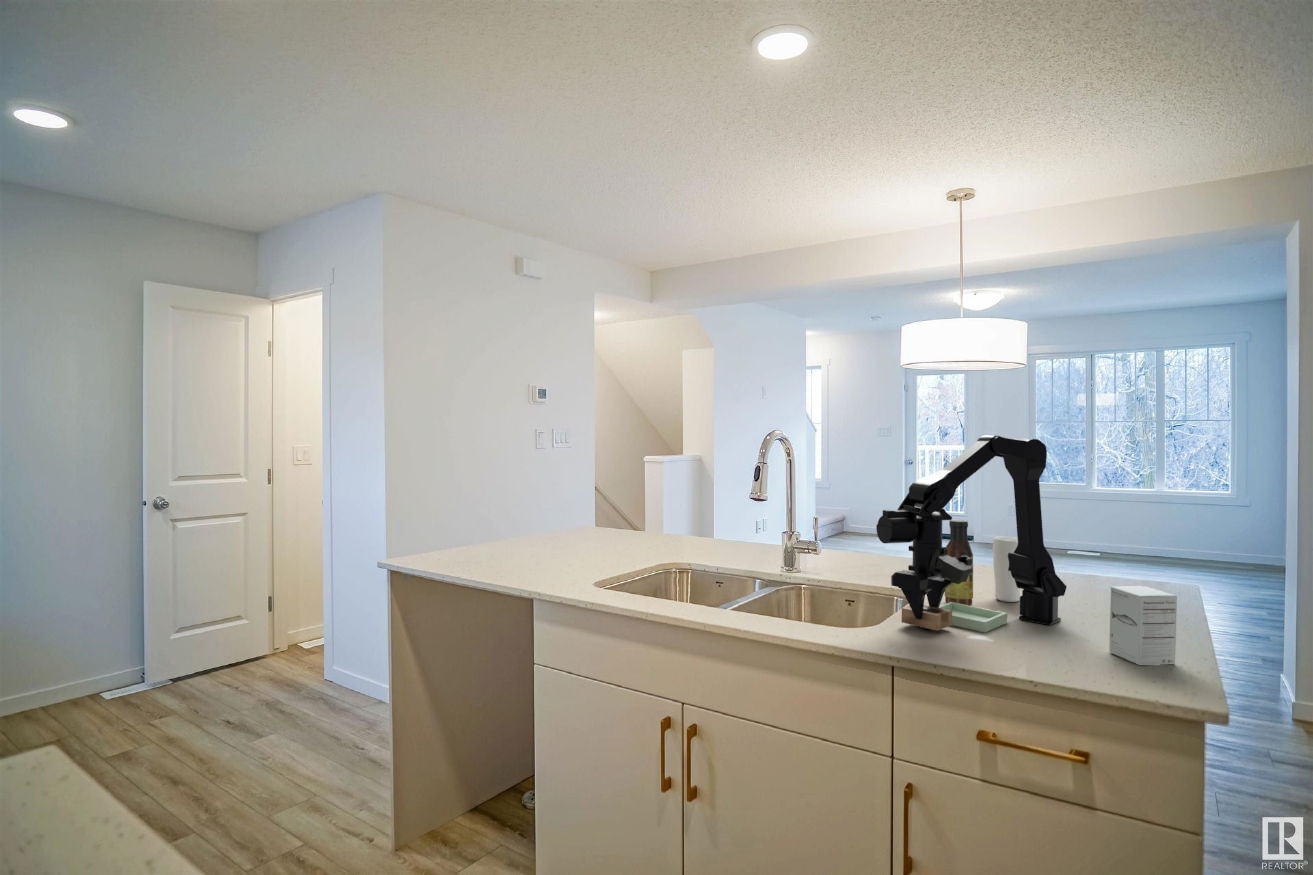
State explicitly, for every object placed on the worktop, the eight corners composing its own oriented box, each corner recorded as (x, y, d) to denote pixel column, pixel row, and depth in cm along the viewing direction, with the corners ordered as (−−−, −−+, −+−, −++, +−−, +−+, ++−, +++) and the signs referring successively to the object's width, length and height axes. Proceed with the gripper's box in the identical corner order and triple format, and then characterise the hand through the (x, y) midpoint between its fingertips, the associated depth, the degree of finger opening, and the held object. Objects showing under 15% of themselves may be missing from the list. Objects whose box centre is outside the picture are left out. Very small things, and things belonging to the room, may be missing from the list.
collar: (901, 622, 146) (901, 607, 146) (916, 616, 150) (916, 603, 150) (937, 630, 140) (937, 615, 140) (951, 624, 144) (952, 610, 144)
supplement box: (1107, 652, 130) (1108, 585, 130) (1144, 651, 131) (1145, 585, 131) (1138, 666, 123) (1139, 595, 123) (1177, 665, 124) (1178, 594, 123)
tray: (1007, 622, 150) (1007, 612, 150) (984, 632, 143) (985, 622, 143) (950, 610, 159) (950, 601, 159) (927, 619, 152) (927, 609, 152)
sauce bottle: (975, 608, 162) (977, 523, 161) (947, 606, 163) (948, 522, 163) (969, 601, 168) (970, 519, 168) (941, 599, 169) (942, 518, 169)
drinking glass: (993, 601, 168) (993, 539, 168) (991, 595, 174) (991, 535, 174) (1024, 604, 165) (1025, 541, 165) (1021, 598, 172) (1022, 537, 171)
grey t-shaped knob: (939, 630, 144) (939, 609, 144) (934, 631, 143) (934, 611, 143) (918, 625, 148) (918, 605, 148) (913, 626, 146) (913, 607, 146)
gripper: (943, 552, 133) (942, 633, 133) (986, 541, 145) (985, 616, 145) (890, 544, 141) (889, 621, 141) (934, 535, 154) (934, 605, 154)
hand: (926, 616), depth 145 cm, fingers closed on collar, 6 cm apart
